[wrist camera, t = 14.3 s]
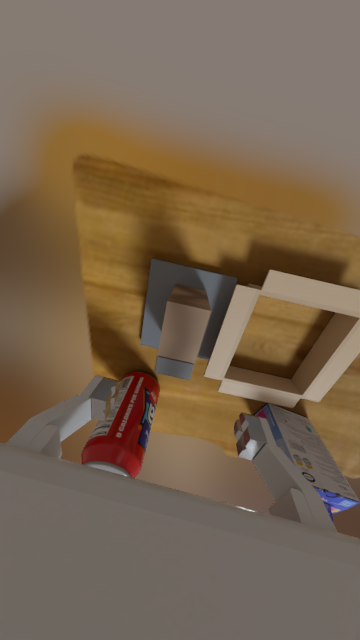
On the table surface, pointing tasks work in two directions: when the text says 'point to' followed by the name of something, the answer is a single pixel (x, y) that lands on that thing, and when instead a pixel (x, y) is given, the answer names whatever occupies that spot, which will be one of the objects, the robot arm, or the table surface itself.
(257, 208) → the table surface
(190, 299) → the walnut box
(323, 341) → the beige hollow square frame
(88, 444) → the soda can
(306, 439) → the ink cartridge box
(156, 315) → the mat
